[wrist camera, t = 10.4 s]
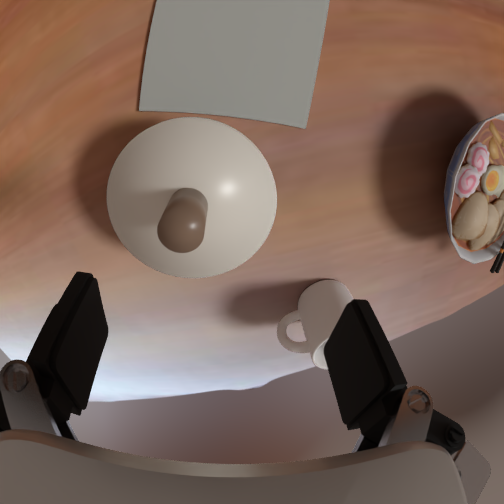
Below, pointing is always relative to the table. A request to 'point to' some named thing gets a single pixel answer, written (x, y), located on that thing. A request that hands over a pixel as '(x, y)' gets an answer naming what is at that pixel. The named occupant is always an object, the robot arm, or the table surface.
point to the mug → (316, 318)
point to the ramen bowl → (477, 194)
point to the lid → (191, 197)
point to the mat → (234, 58)
